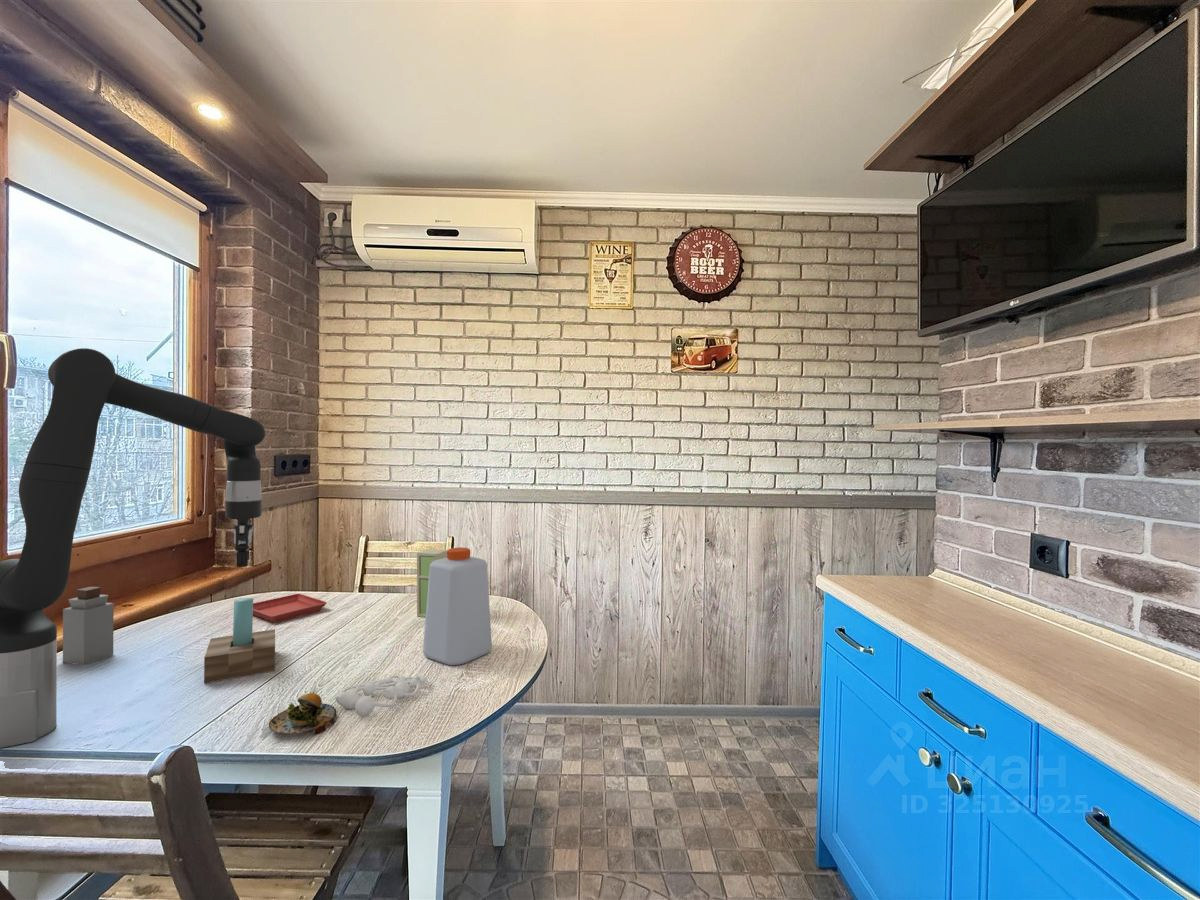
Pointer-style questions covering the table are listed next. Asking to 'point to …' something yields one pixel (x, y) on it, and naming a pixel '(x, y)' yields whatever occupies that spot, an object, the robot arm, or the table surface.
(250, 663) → the bore block
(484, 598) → the plastic bottle
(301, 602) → the plant saucer
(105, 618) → the perfume bottle
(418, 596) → the toy refrigerator
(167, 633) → the table surface
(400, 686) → the tangled rod sculpture
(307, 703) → the burger
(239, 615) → the pin
